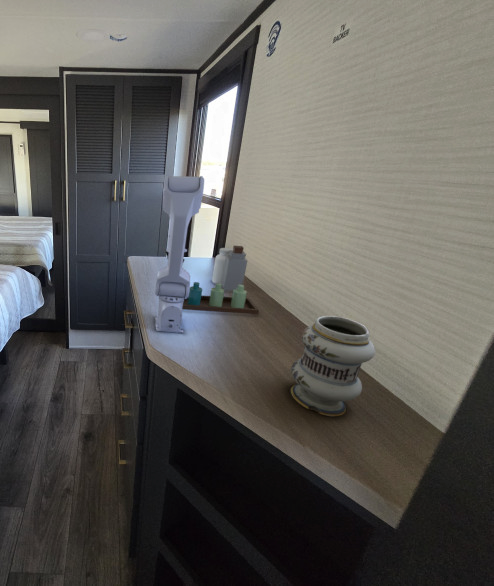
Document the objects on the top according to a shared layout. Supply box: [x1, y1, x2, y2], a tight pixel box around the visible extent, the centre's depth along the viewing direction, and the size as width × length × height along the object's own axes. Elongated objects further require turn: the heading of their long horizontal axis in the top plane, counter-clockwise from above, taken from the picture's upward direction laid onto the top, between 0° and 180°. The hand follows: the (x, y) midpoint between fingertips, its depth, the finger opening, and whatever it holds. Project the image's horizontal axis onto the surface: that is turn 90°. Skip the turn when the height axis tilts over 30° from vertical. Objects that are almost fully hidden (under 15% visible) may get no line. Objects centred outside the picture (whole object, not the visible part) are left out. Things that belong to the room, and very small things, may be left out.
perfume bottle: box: [221, 245, 248, 292], centre depth 125 cm, size 7×7×18 cm
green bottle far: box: [230, 284, 248, 308], centre depth 108 cm, size 4×4×8 cm
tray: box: [182, 295, 260, 315], centre depth 111 cm, size 11×26×2 cm, turn 83°
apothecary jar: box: [290, 315, 376, 417], centre depth 63 cm, size 12×12×18 cm
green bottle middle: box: [209, 283, 225, 307], centre depth 109 cm, size 4×4×8 cm
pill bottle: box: [211, 247, 233, 285], centre depth 133 cm, size 8×8×15 cm
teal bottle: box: [188, 281, 203, 305], centre depth 110 cm, size 4×4×8 cm
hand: (172, 274), depth 113 cm, fingers open, 7 cm apart
